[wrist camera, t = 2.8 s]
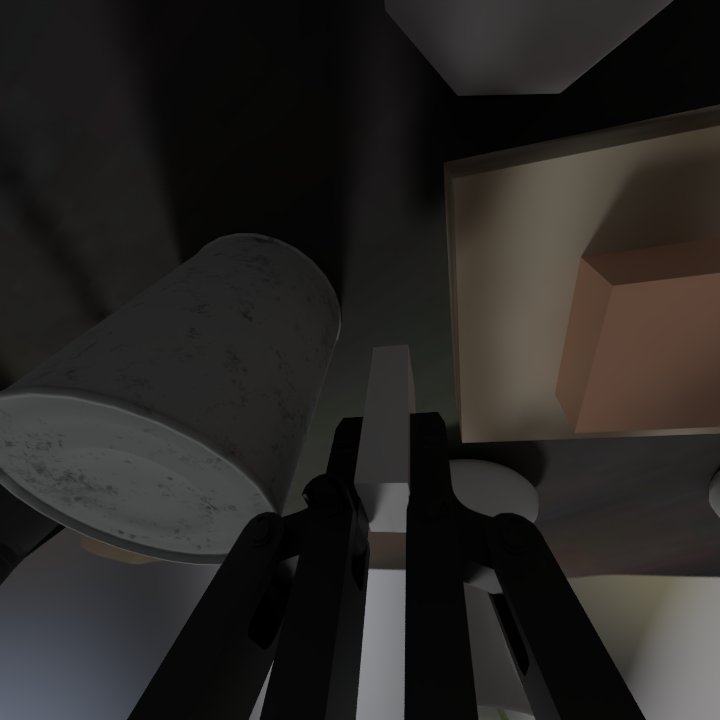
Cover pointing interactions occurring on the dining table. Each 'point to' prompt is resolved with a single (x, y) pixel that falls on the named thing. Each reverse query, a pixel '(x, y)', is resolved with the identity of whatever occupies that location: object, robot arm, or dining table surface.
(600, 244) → the birch board
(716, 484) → the alcohol
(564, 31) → the potion bottle
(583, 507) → the dining table surface
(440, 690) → the robot arm
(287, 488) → the white cylinder
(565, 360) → the terracotta tile
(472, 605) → the flower in vase
